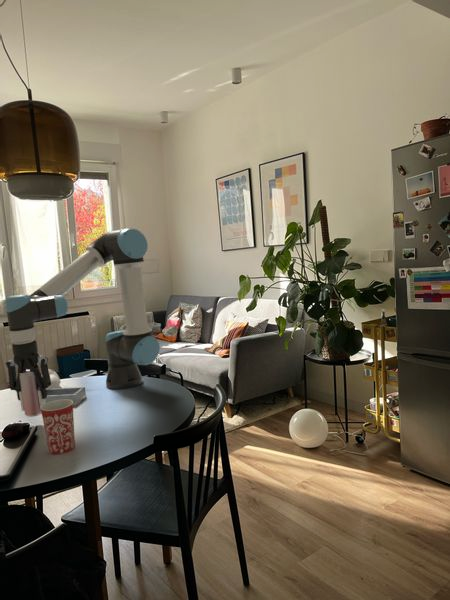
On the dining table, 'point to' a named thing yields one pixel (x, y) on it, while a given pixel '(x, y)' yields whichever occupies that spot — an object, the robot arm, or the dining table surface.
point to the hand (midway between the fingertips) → (34, 408)
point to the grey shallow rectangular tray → (66, 394)
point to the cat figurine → (54, 380)
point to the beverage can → (30, 393)
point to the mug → (59, 425)
